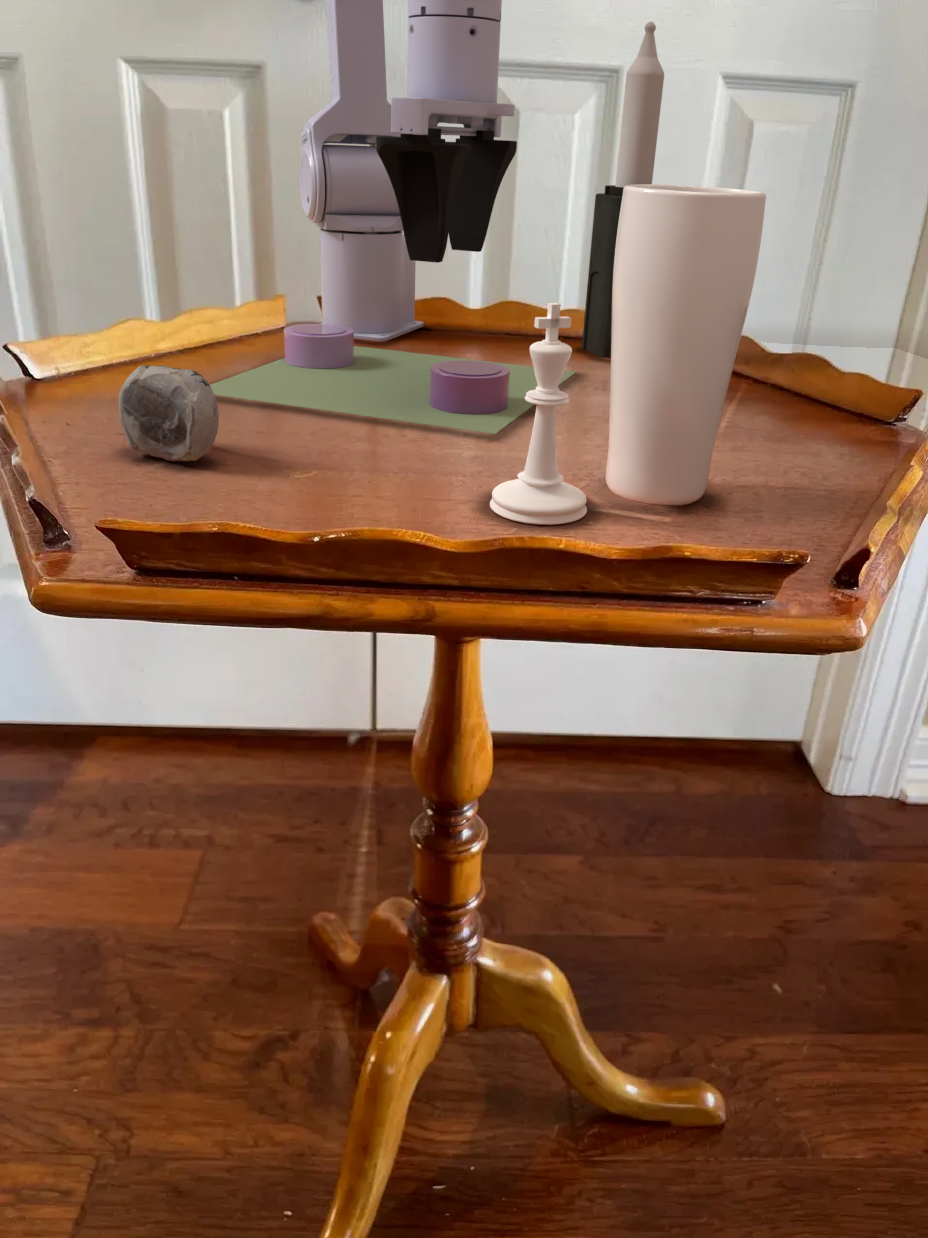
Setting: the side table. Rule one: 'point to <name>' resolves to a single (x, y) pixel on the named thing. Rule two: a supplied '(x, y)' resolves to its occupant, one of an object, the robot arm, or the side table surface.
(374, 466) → the side table surface
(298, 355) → the lilac dish
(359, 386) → the placemat
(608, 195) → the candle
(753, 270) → the drinking glass
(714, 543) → the side table surface
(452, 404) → the mauve dish
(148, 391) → the fossil
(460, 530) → the side table surface
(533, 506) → the chess piece
